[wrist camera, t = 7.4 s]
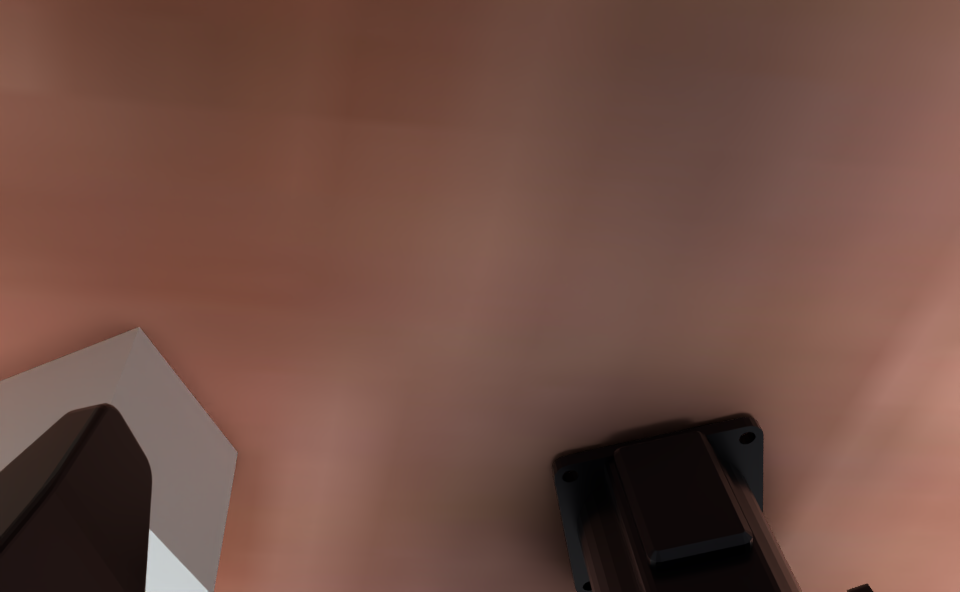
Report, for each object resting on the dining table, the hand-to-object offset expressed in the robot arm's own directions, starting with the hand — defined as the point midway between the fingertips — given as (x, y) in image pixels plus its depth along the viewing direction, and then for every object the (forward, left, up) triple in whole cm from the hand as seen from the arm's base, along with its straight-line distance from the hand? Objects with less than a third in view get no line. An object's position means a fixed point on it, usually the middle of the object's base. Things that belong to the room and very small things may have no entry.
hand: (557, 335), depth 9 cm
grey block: (-9, +12, -12) cm, 19 cm away
